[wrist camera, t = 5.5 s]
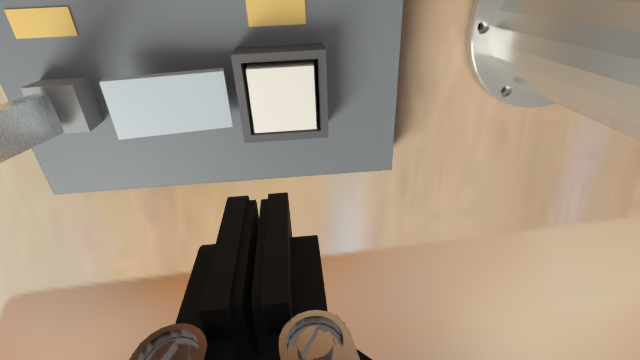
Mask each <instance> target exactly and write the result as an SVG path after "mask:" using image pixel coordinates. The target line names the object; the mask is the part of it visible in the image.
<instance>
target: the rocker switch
mask: <svg viewBox="0 0 640 360" xmlns="http://www.w3.org/2000/svg"><path fill="white" fill-rule="evenodd" d="M99 84H100V86H101V89H102V92H103V95H104V98H105V101H106V104H107V107H108V110H109V113H110V115H111V118H112V121H113V124H114V127H115V130H116V133H117V136H118V139H119V140H122V139H131V138H140V137H148V136H157V135H166V134H175V133H183V132H192V131H201V130H210V129H219V128H227V127H233V120H232V115H231V109H230V103H229V97H228V91H227V85H226V79H225V73H224V68H215V69H203V70H191V71H180V72H168V73H156V74H144V75H133V76H121V77H109V78H103V79H102V80H101V81H100V82H99Z"/></svg>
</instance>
